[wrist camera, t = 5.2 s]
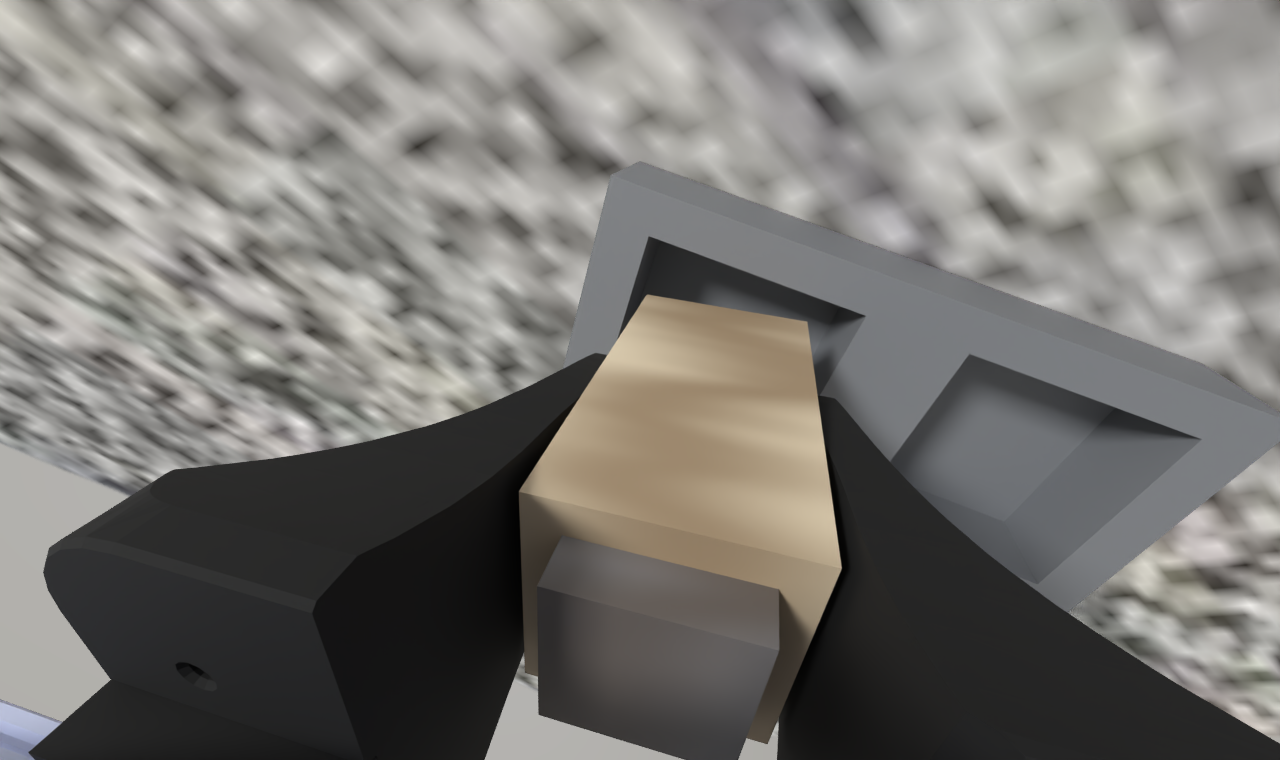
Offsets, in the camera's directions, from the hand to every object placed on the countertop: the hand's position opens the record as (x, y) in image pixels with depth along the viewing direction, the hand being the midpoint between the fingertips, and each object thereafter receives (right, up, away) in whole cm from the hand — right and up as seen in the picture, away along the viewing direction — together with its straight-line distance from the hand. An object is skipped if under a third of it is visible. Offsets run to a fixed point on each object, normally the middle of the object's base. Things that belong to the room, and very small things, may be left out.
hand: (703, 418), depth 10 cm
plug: (0, +1, +2) cm, 2 cm away
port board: (+4, 0, +4) cm, 6 cm away
